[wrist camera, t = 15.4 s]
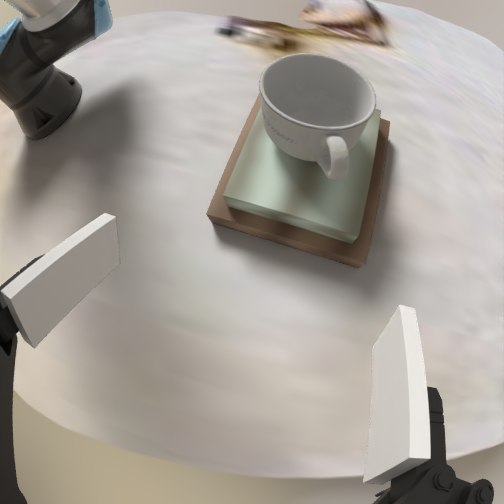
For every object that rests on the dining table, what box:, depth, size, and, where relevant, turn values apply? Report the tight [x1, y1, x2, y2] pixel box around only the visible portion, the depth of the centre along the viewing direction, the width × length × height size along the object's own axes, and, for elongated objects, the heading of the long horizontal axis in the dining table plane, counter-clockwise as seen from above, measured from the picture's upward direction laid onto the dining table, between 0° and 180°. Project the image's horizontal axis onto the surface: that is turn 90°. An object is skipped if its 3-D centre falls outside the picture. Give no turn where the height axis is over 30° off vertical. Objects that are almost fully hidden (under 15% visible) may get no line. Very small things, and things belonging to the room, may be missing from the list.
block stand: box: [206, 93, 390, 268], centre depth 33 cm, size 18×20×6 cm
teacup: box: [259, 53, 376, 180], centre depth 26 cm, size 14×11×8 cm
